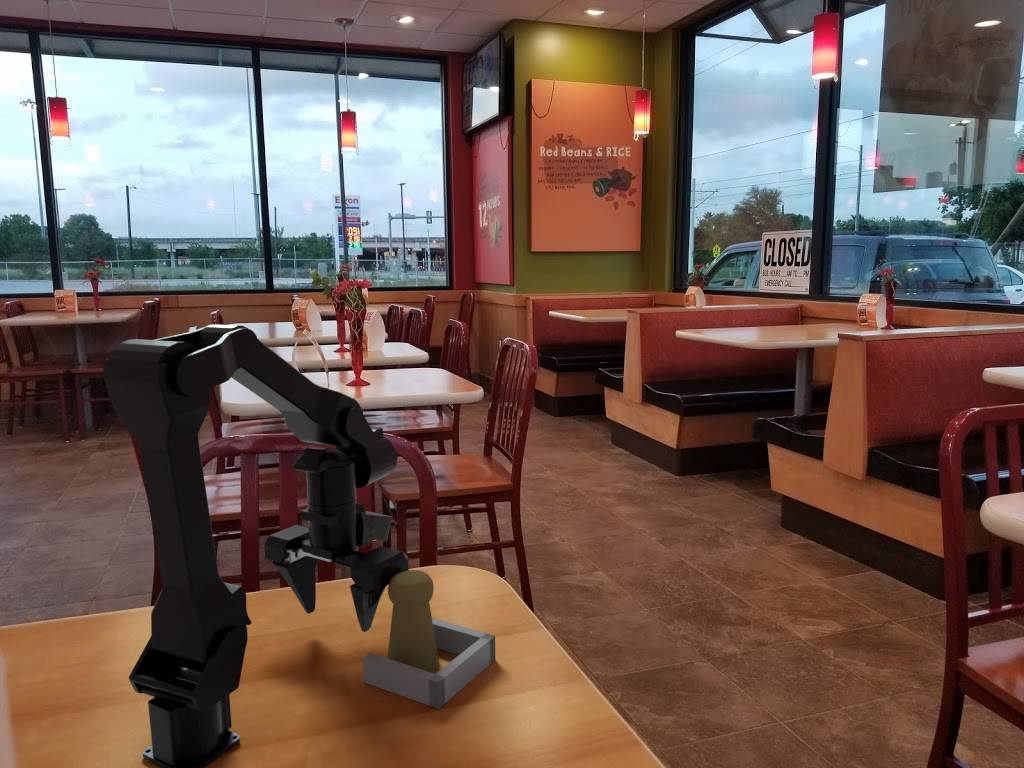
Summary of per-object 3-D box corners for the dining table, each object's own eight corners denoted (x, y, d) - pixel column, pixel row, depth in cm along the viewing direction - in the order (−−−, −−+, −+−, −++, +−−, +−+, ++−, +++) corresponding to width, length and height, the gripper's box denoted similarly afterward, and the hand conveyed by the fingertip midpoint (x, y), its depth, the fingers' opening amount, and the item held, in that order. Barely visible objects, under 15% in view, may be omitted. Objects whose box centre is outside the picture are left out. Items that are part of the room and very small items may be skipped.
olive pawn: (442, 651, 93) (441, 564, 91) (433, 679, 87) (431, 586, 85) (393, 649, 93) (391, 562, 91) (380, 676, 87) (377, 584, 85)
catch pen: (438, 708, 81) (438, 682, 80) (363, 682, 86) (362, 657, 85) (495, 659, 91) (495, 635, 90) (425, 638, 96) (424, 615, 95)
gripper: (435, 493, 94) (438, 613, 97) (323, 471, 104) (329, 581, 106) (374, 520, 85) (379, 652, 88) (258, 493, 94) (265, 613, 97)
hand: (337, 621), depth 95 cm, fingers open, 9 cm apart
